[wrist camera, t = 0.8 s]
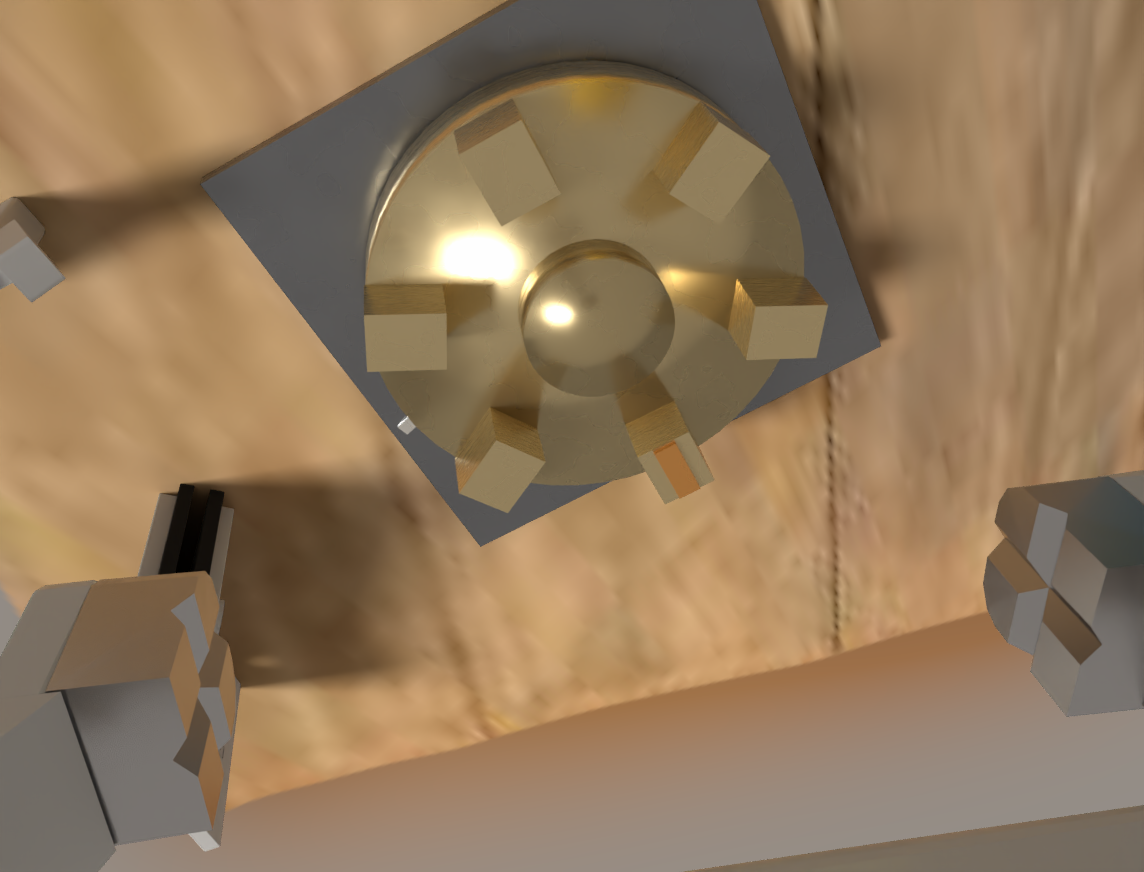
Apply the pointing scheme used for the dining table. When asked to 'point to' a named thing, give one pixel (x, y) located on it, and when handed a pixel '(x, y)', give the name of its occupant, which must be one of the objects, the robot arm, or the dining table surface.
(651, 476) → the gold radial fin assembly
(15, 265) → the grey angled block
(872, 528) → the dining table surface
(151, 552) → the grey and black block
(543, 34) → the base plate
